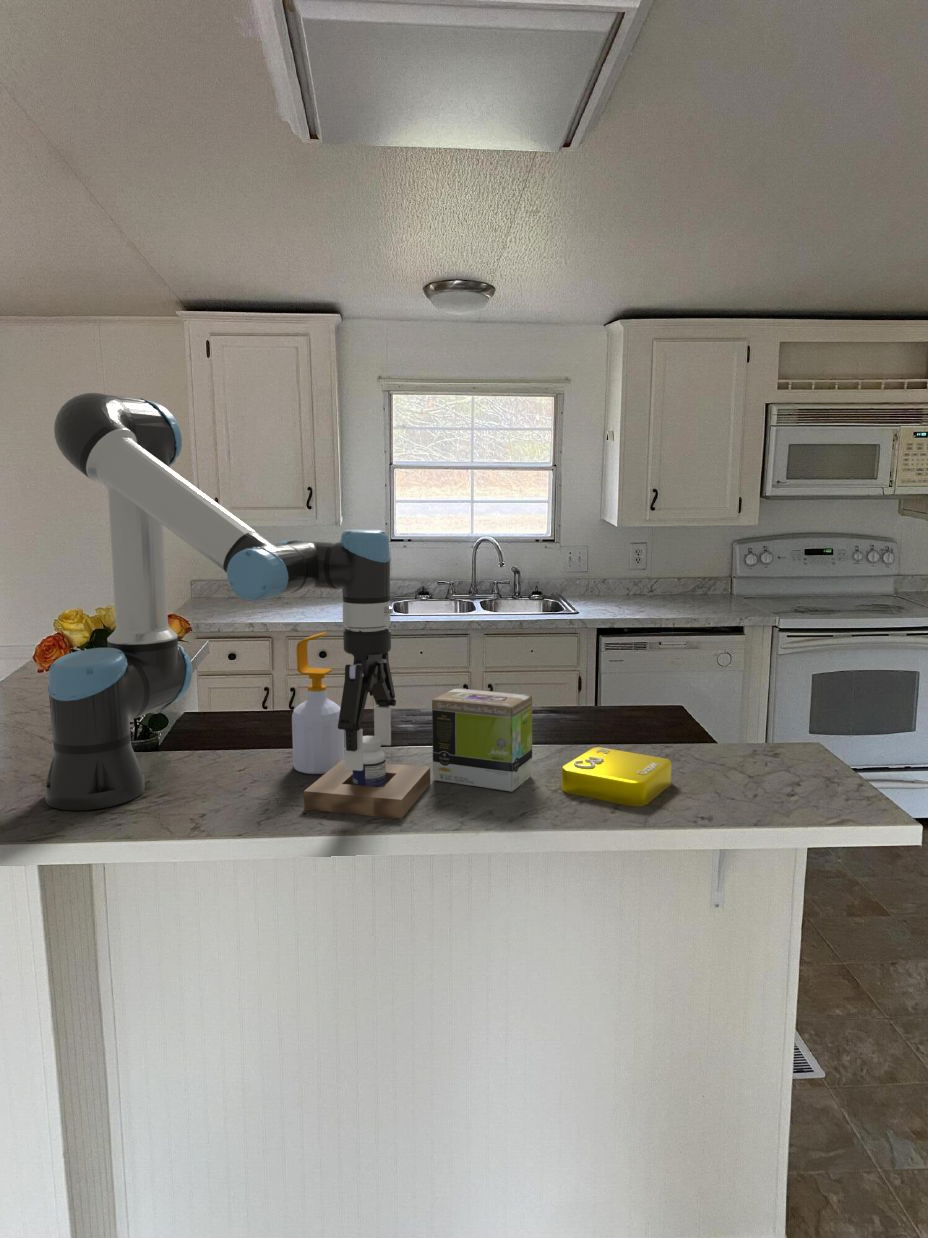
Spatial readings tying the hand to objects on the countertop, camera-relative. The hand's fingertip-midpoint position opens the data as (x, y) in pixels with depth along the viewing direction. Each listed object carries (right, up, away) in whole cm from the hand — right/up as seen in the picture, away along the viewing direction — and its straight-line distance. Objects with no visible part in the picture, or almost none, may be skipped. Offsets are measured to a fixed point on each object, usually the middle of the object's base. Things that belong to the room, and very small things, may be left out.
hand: (369, 756), depth 143 cm
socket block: (0, -7, +1) cm, 7 cm away
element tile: (+41, -7, +6) cm, 42 cm away
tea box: (+19, -6, +10) cm, 22 cm away
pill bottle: (0, -7, +1) cm, 7 cm away
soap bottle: (-11, -5, +16) cm, 20 cm away
